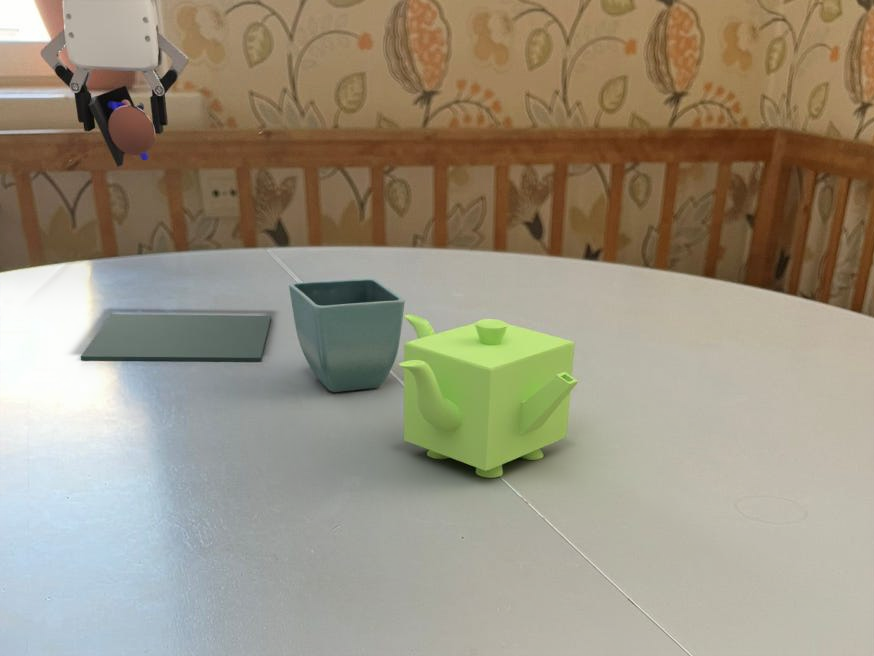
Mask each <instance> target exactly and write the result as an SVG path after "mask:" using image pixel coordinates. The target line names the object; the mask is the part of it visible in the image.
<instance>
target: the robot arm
mask: <svg viewBox="0 0 874 656" xmlns="http://www.w3.org/2000/svg"><path fill="white" fill-rule="evenodd" d="M62 15H63V16H62V17H63V29H62V30H61V31H60V32H59V33H58V34H56V36H55V37H54V38H52V39H51V40H50V42H48V43H47V44H46V45H45V46H44V47H43V48H42V49H41V50H40V56H41V58H42V59H43V60H44V62H46V64H47V65H48V66H49V67H50V69H51V70H52V71H54V74H55V75H56V76H57V77H58V78H59V79H60V80H61V81H62V82H63V83H64V84H65V85H67V87H68V88H69V89H70V91H71V92H72V93H74V94H73V95H74V100H75V101H74V102H75V107H76V114H77V115H76V116H77V121H78V123H83V124H82V125H83V130H84V132H91V131H93V130H94V129H96V120H95V118H94V116H93V114H92V112H91V110H90V108H89V103H90V101H91V99H92V93H91V92H90V90H89V89H88V86H87V85H88V84H87V83H88V81H89V79H90V76H91V73H92V71H93V70H100V71H122V72H123V71H124V72H141V73H142V75H143V76H144V78H145V80H146V81H147V83H148V85H149V86H150V88H151V94H152V95H151V96H150V97H149V100H150V108H151V109H150V110H151V121H152V123H153V125H154V129H155V135H160V134H162V133H164V127H165V126H168V124H169V123H168V112H167V111H168V110H167V102H166V94H167V92H168V91H169V89H171V88H172V86H173V85H174V84H175V82H176V81H177V80H178V79H179V78H180V76H181V74H182V73H183V71H184V69H185V68H186V67H187V65H188V64H189V57H188V55H187V54H186V53H185V52H184V51H182V50H181V49H180V48H179V47H177V46H176V45H175V44H174V43H172V41H171V40H170V39H168V38H167V37H166V36H165V35H163V34H162V33H161V31H160V24H159V18H158V10H157V6H156V1H155V0H62ZM65 48H66V55H67V58H68V60H69V62H70V64H72V65H73V66H74V67H75V70H74V72H73V71H72V70H71V69H70V68H69V67H68V66H67V65H65V64H64V62H63V61H62V60H61V59H60V55H59V54H60V52H61V51H63V50H64V49H65ZM163 53H164V54H165V55H167V56H168V57H169V58H170V59H171V60H172V63H171V65H170V67H169V69H168V70H167V72H165V73H164V75H163V76H161V74H160V72H159V71H158V69H157V68H159V67H160V66H161V65H162V64H163Z"/></svg>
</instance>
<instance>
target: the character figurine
mask: <svg viewBox="0 0 874 656" xmlns="http://www.w3.org/2000/svg"><path fill="white" fill-rule="evenodd" d="M91 98H92V99H91V101H90V103H89V108H90V110H91V112H92V114H93V116H94V120H95V123H96V125H97V126H98V128H99V131H100V133H101V135H102V137H103V139H104V141H105V143H106V147H108V150H109V152H110V154H111V156H112V158H113V160H114V162H115V164H116V167H118V168H119V167H121V166H123V164H124V156H125V154H127V155H130V156H140V158H141V160H142V161H147V160H148V159H149V156H148V153H147V152H149V151H150V149H151V148H152V147H153V145H154V142H155V140H156V132H155V129H154V125H153V120H152V118H150V116H149V115H148V114H147V112H145V111H144V108H145V105H144V104H143V103H142V102H138V103H137V104H136V106H135V104H134V102H133V100H132V96H131V95H130V92H129V90H128V87H127V85H126V84H125V85H121V86H119V87H117V88H114V89H112V90H109V91H107V92H104V93H101V94H98V95H95V96H91Z"/></svg>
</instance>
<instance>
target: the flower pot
mask: <svg viewBox="0 0 874 656" xmlns="http://www.w3.org/2000/svg"><path fill="white" fill-rule="evenodd" d="M288 288H289V295H290V302H291V307H292V313H293V314H292V315H293V321H294V327H295V331H296V336H297V339H298V343H299V346H300V349H301V352H302V354H303V356H304V358H305V360H306V362H307V364H308V366H309V367H310V369H311V371H312V373H313V374H314V376H315V377H316V379H318V381H320V382H321V383H322V385H324V386H325V388H326V389H327V390H328V391H330V392H332V393H341V392H348V391H356V390H367V389H376V388H379V387H381V385H382V384H383V383H384V381H385V380H386V379H387V377H388V375H389V373H390V372H391V370H392V368H393V366H394V363H395V361H396V359H397V355H398V351H399V347H400V341H401V333H402V327H403V318H404V310H405V302H406V299H405V298H404V297H402V296H401V295H399V294H398V293H396V292H394V291H393V290H391V288H389V287H387V286H386V285H384V283H381V282H380V281H379V280H377V279H375V278H357V279H356V278H355V279H340V280H339V279H338V280H324V281H323V280H322V281H321V280H320V281H305V282H304V281H303V282H302V281H301V282H292V283H288Z"/></svg>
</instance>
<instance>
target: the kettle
mask: <svg viewBox="0 0 874 656" xmlns="http://www.w3.org/2000/svg"><path fill="white" fill-rule="evenodd" d="M403 318H405V320H406V321H407V322H408V323H409V324H410V325H411V326H412V327H413V329H414V331H415V333H416V336H417V338H416V339H413V340H410V341H406V342H405V343H404V344H403V361H402V362H400V363H398V365H399V367H401V368H403V440H404V441H405V442H407V443H409V444H412V445H415V446H418V447H421V448H423V449H426V450H428V451H427V452H426V455H427V457H429V458H432V459H436V460H445V459H450V458H451V459H453V460H456V461H459V462H461V463H464V464H467V465H469V466H472V467H474V468H475V474H476V475H477V476H480V477H483V478H488V479H489V478H490V479H491V478H492V479H493V478H498V477H502V475H503V473H504V471H503V465H504V464H506V463H509V462H512V461H513V460H514V461H515V460H516V459H518V458H521V459H524V460H529V461H530V460H531V461H534V460H540V459H543V458H544V453H543V452H542V450H541V449H542V448H544V447H547V446H549V445H551V444H553V443H557V442H559V441H560V440H561V441H562V440H563V439H565V438H567V435H568V423H569V411H570V402H571V401H570V400H571V392H572V390H573V389H574V388H575V387H576V386H577V384H578V382H579V380H578V379H576V378H575V377H574V376H573V367H574V356H575V355H574V354H575V346H576V345H575V344H576V343H575V342H574V341H572V340H569V339H566V338H562V337H558V336H555V335H550V334H547V333H544V332H539V331H535V330H532V329H529V328H526V327H521V326H518V325H513V324H510V323H507V322H506V321H503V320H501V319H495V318H485V319H484V318H483V319H480V320H477V321H476V322H473V323H470V324H467V325H464V326H463V325H462V326H459V327H456V328H452V329H448V330H445V331H441V332H438V333H436V332H435V330H434V328H433V327H432V325H431V324H430V321H428V320H427V319H425V318H423V317H421V316H419V315H415V314H403Z"/></svg>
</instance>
